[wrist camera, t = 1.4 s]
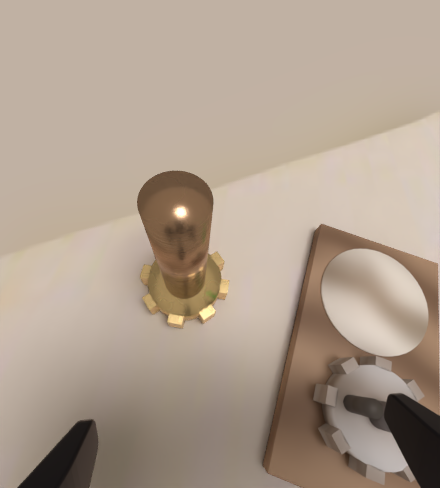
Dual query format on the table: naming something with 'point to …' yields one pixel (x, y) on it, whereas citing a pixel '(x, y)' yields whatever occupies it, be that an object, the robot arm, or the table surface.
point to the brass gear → (180, 248)
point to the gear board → (354, 364)
